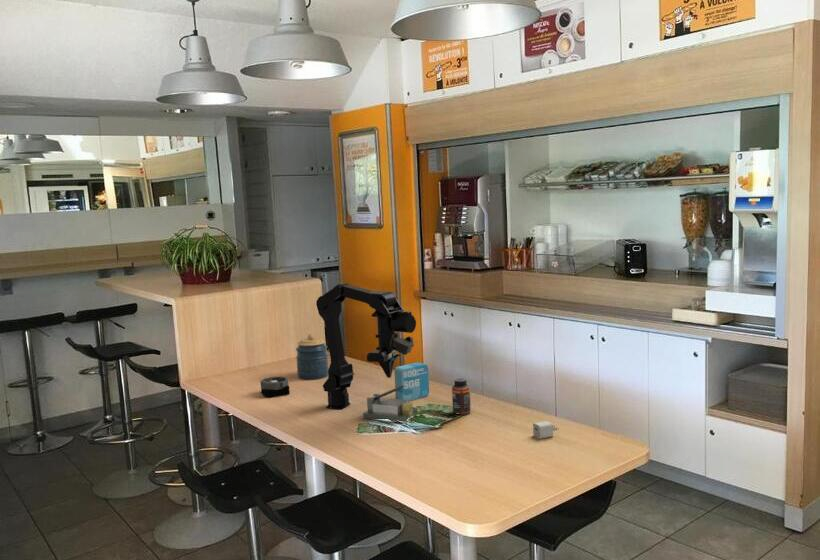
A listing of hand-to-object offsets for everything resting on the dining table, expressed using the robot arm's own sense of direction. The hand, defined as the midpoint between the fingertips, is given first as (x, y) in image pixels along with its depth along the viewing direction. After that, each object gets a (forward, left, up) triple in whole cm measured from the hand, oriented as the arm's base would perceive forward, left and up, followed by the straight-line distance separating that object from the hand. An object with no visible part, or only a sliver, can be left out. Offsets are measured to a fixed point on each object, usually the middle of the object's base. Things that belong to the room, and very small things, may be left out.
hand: (389, 377), depth 233 cm
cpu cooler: (-55, +12, -14) cm, 58 cm away
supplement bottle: (+21, +11, -14) cm, 27 cm away
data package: (-2, +22, -14) cm, 26 cm away
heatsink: (0, 0, -13) cm, 13 cm away
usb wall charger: (+53, -2, -14) cm, 55 cm away
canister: (-55, +39, -14) cm, 69 cm away
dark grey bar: (-1, 0, -6) cm, 6 cm away
